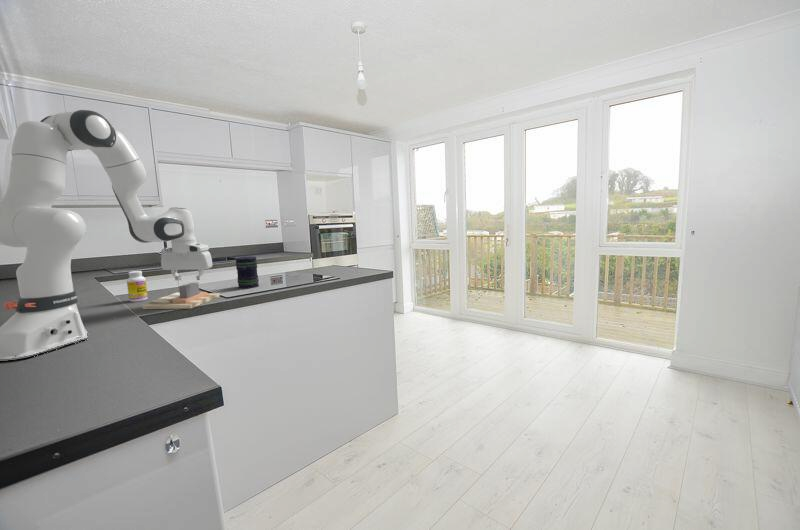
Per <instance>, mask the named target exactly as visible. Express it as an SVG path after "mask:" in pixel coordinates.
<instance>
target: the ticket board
mask: <svg viewBox="0 0 800 530" xmlns="http://www.w3.org/2000/svg"><path fill="white" fill-rule="evenodd" d="M179 297H180V292H178V291H177V292H173V293H171V294H168V295H165V296H162V297H158V298H156V299H152V300H150V301H149V303H145V304H143V305H141V308H142V310H163V309H164V310H171V309H172V310H173V309H174V310H175V309H177V310H179V309H193V308H195V307H198V306H200V305H202V304H206V303H208V302H210V301H212V300H215V299H217V298H220V292H219V293H218V292H217V293H215V292H214V293H213V292H212V293H208V292H207V295H206V296H203V297H200V298H198V299H195V300H192V301H190V302H187V303H172V300H174V299H176V298H179Z"/></svg>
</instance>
